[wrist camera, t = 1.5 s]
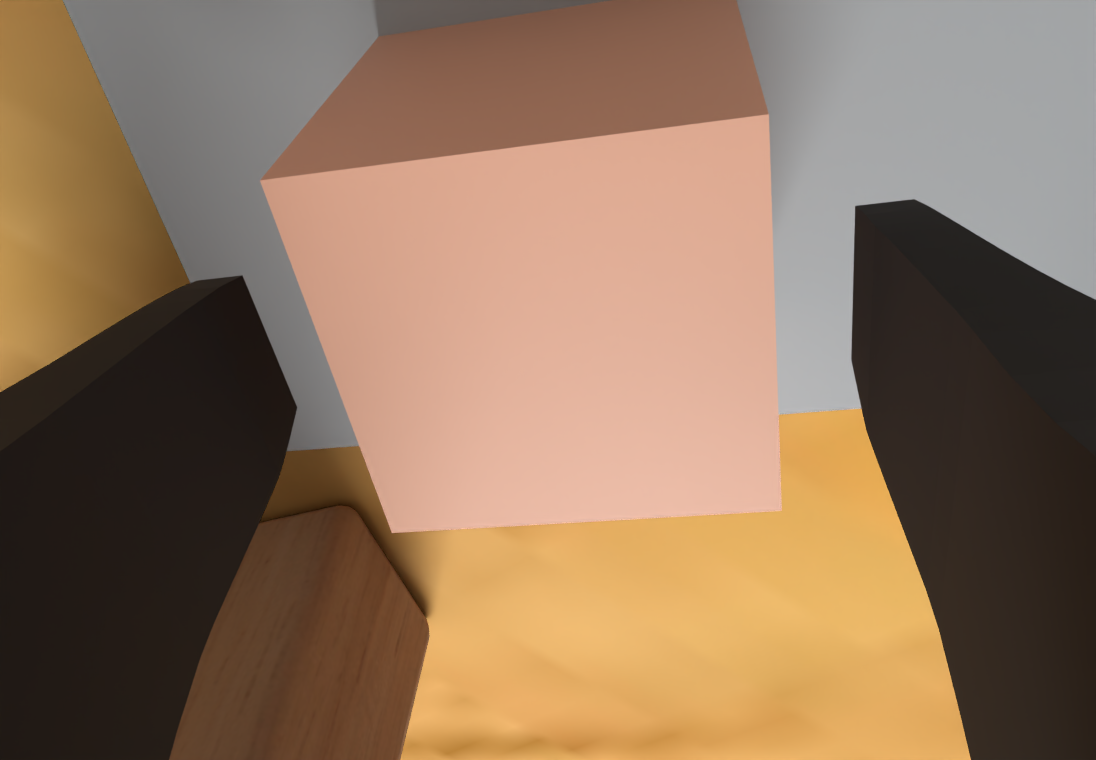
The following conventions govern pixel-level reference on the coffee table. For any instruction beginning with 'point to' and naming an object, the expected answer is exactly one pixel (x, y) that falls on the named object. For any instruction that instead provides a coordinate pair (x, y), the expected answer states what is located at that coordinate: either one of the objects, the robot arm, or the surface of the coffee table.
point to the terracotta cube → (547, 266)
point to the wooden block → (308, 650)
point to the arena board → (794, 125)
